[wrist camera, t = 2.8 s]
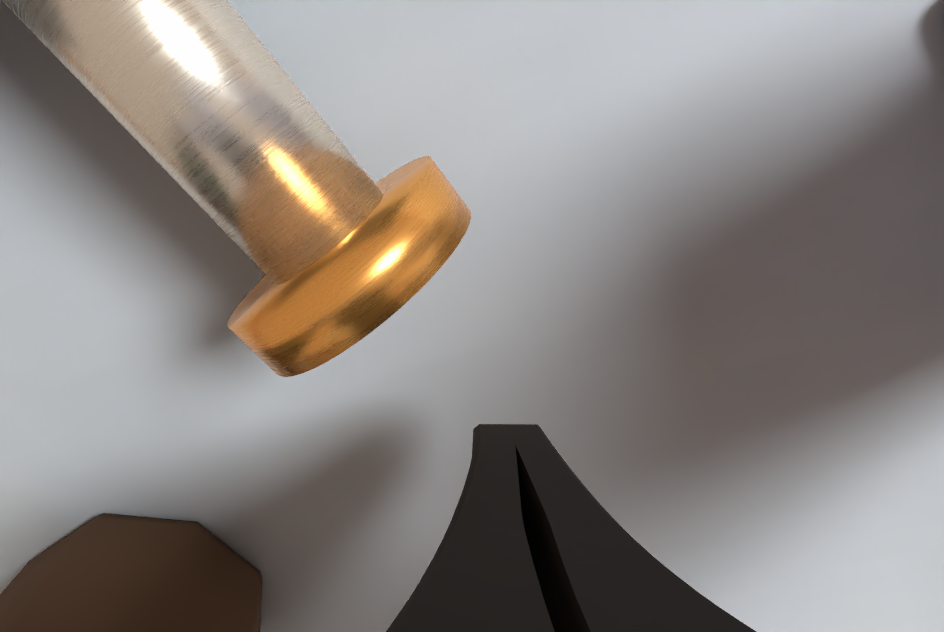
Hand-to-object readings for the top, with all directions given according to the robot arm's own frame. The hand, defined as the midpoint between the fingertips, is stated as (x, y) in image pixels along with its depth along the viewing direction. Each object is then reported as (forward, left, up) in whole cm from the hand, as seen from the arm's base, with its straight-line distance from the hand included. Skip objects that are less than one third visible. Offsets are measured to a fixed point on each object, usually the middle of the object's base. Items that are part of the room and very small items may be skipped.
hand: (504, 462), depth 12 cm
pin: (+10, 0, -3) cm, 10 cm away
